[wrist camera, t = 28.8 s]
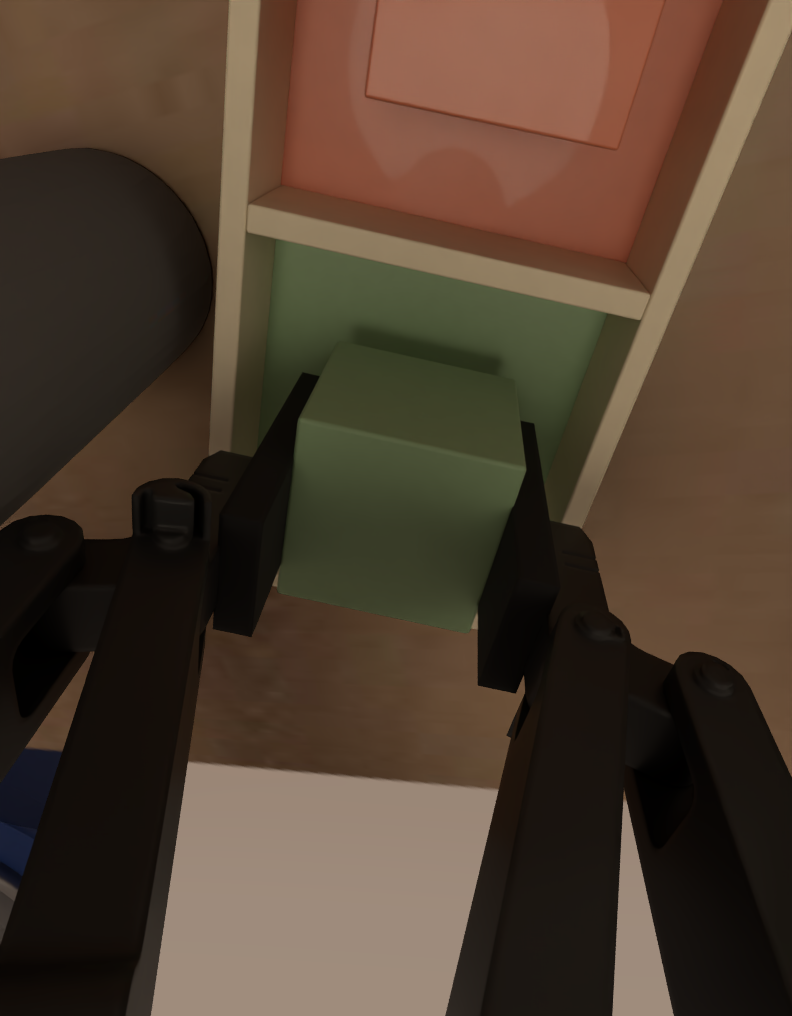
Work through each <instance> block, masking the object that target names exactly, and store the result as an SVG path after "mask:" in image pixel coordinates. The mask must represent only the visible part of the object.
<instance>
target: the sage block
mask: <svg viewBox="0 0 792 1016" xmlns="http://www.w3.org/2000/svg"><path fill="white" fill-rule="evenodd" d="M293 458H294V460H293V468H292V476H291V485H290V493H289V501H288V509H287V517H286V525H285V533H284V541H283V549H282V557H281V565H280V567H279V575H278V583H277V591H278V593H280V594H285V595H290V596H294V597H299V598H303V599H308V600H313V601H317V602H322V603H327V604H331V605H336V606H341V607H345V608H350V609H355V610H359V611H364V612H369V613H373V614H378V615H383V616H387V617H392V618H397V619H401V620H406V621H411V622H415V623H420V624H425V625H429V626H434V627H438V628H443V629H448V630H452V631H457V632H462V633H469V632H470V630H471V627H472V624H473V622H474V619H475V616H476V613H477V610H478V605H479V602H480V599H481V596H482V593H483V590H484V587H485V584H486V581H487V579H488V576H489V573H490V570H491V567H492V564H493V561H494V558H495V556H496V553H497V550H498V547H499V544H500V541H501V538H502V535H503V532H504V530H505V527H506V524H507V521H508V518H509V515H510V512H511V509H512V507H513V506H514V504H515V501H516V499H517V496H518V493H519V490H520V487H521V484H522V481H523V479H524V476H525V473H526V463H525V455H524V446H523V438H522V430H521V422H520V414H519V406H518V398H517V390H516V382H515V380H513V379H509V378H504V377H500V376H495V375H491V374H487V373H482V372H478V371H473V370H469V369H464V368H460V367H455V366H451V365H446V364H442V363H437V362H433V361H428V360H424V359H419V358H415V357H410V356H406V355H401V354H397V353H392V352H388V351H383V350H379V349H375V348H370V347H366V346H361V345H357V344H352V343H348V342H343V341H338V343H337V344H336V346H335V348H334V350H333V352H332V354H331V356H330V358H329V360H328V362H327V364H326V366H325V368H324V370H323V372H322V374H321V376H320V378H319V379H318V381H317V383H316V385H315V387H314V389H313V391H312V393H311V395H310V397H309V399H308V401H307V403H306V405H305V407H304V409H303V411H302V413H301V415H300V417H299V418H298V422H297V430H296V438H295V446H294V454H293Z"/></svg>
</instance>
